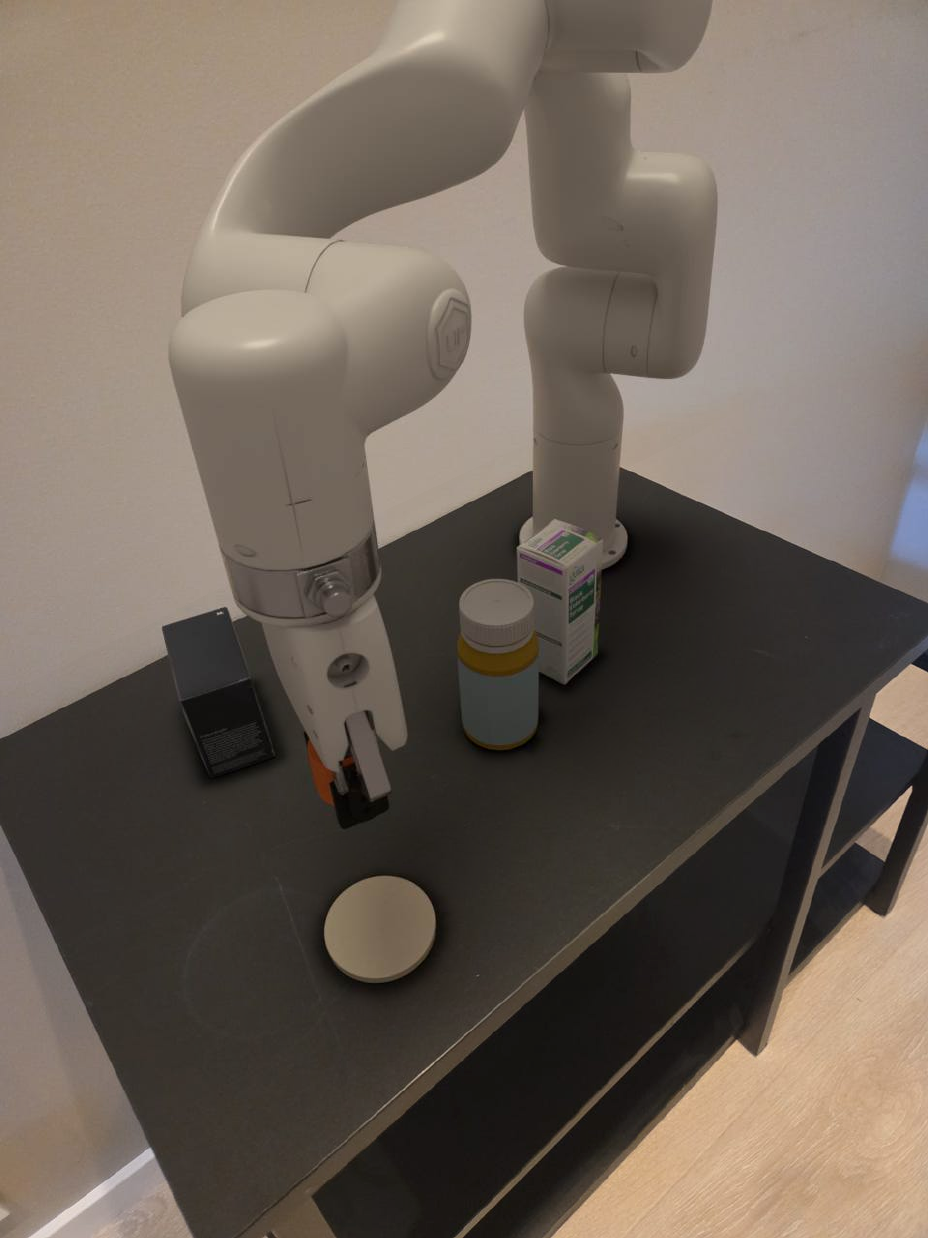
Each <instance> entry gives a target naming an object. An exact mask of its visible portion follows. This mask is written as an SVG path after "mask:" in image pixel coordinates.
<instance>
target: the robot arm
mask: <svg viewBox="0 0 928 1238" xmlns="http://www.w3.org/2000/svg"><path fill="white" fill-rule="evenodd" d="M713 2H714V0H397V1H396V3H395V6H394V8H393V9H392V12H391V14H390V16H389V19H388V20H387V23H386V25H385V27H384V29H383V32H382V34H381V36H380V39H379V41H378V42H377V45H376V47H375V50H374V51H373V53H372V54H371V55H369V56H368V57H367V58H365V59H363V60H362V61H361V62H359V63H357V64H355V65H353V66H351V67H350V68H349V69H347V70H346V71H344V72H343V73H341V74H340V75H338V76H336V77H335V78H334V79H332V80H331V81H330V82H328V83H327V84H325V85H324V86H322V87H321V88H319V90H317V91H316V92H314V93H313V94H312V95H310V96H309V97H307V99H305V100H304V101H302V102H301V103H300V104H298V105H297V106H296V107H295V108H293V109H292V110H290V111H288V113H286V114H284V116H281V118H279V119H278V120H276V121H275V122H273V124H272V125H270V126H269V127H268V128H267V129H266V130H264V131H263V132H262V133H261V134H259V136H258V137H257V138H256V139H255V140H254V141H253V142H252V143H251V144H250V145H249V146H248V147H247V148H246V149H245V150H244V152H242V154H241V155H240V157H239V158H238V159H237V160H236V162H235V163H234V164H233V166H232V167H231V169H230V171H229V172H228V173H227V175H226V177H225V178H224V181H223V182H222V184H221V187H220V189H219V191H218V193H217V195H216V197H215V199H214V200H213V202H212V205H211V206H210V208H209V211H208V213H207V215H206V217H205V219H204V221H203V222H202V225H201V227H200V229H199V232H198V234H197V237H196V240H195V242H194V244H193V246H192V250H191V252H190V254H189V257H188V261H187V265H186V269H185V273H184V277H183V280H182V281H183V282H182V288H181V296H180V297H181V298H180V302H181V303H180V305H181V308H180V310H181V312H180V313H181V314H180V315H181V319H180V320H179V321H178V322H177V323H176V324H175V326H174V327H173V329H172V331H171V334H170V336H169V341H168V353H167V354H168V356H167V359H168V364H169V368H170V373H171V377H172V382H173V385H174V388H175V392H176V396H177V399H178V402H179V406H180V410H181V413H182V417H183V421H184V425H185V428H186V431H187V435H188V439H189V442H190V446H191V449H192V453H193V457H194V460H195V464H196V467H197V471H198V474H199V479H200V482H201V486H202V490H203V492H204V496H205V499H206V504H207V507H208V510H209V514H210V517H211V521H212V525H213V529H214V532H215V535H216V539H217V542H218V548H219V551H220V554H221V558H222V562H223V565H224V570H225V573H226V577H227V581H228V583H229V586H230V587H229V588H230V590H231V593H232V597H233V601H234V603H235V605H236V607H237V608H238V609H239V610H240V612H242V613H243V614H244V615H245V616H247V617H249V618H250V619H252V620H254V621H256V622H259V623H261V626H262V630H263V633H264V637H265V641H266V644H267V647H268V651H269V654H270V657H271V661H272V663H273V666H274V669H275V671H276V673H277V676H278V679H279V681H280V683H281V686H282V687H283V691H284V692H285V694H286V696H287V698H288V700H289V702H290V704H291V706H292V709H293V710H294V712H295V714H296V716H297V718H298V720H299V721H300V724H301V726H302V727H303V730H304V731H303V732H302V733H303V737H304V741H305V746H306V750H307V751H308V741H309V739H310V741H311V742H312V744H313V746H314V748H315V750H316V752H317V754H318V755H319V757H320V759H321V761H322V763H323V764H324V766H325V767H326V768H327V769H329V770H331V771H332V775H333V778H334V780H333V781H332V782H330V783H329V785H330V789H331V794H332V798H333V802H334V806H333V807H334V811H335V815H336V821H337V823H338V825H339V827H340V829H342V830H347V829H350V828H352V827H354V826H357V825H359V824H364V823H367V822H369V821H372V820H374V819H375V818H377V817H378V816H381V815H382V814H384V813H386V812H388V810H389V809H390V802H389V795H390V794H392V793H393V792H392V787H391V784H390V781H389V778H388V775H387V771H386V769H385V766H384V763H383V759H382V755H381V750H380V746H379V741H378V737H379V739H380V740H381V741H382V742H383V743H384V744H385V745H386V746H387V748H389V749H390V751H392V752H394V751H395V750H398V749H400V748H402V747H404V746H405V745H406V743H407V740H408V727H407V722H406V716H405V712H404V706H403V705H404V704H403V701H402V696H401V695H402V694H401V690H400V686H399V681H398V676H397V671H396V665H395V662H394V657H393V653H392V648H391V645H390V641H389V637H388V633H387V630H386V627H385V623H384V620H383V616H382V613H381V610H380V608H379V604H378V601H377V599H376V596H375V593H376V591H377V590H378V587H379V585H380V583H381V581H382V565H381V557H380V551H379V543H378V537H377V536H378V535H377V529H376V521H375V520H376V519H375V513H374V507H373V505H374V504H373V499H372V492H371V483H370V476H369V467H368V462H367V455H366V453H367V452H366V440H367V438H368V437H369V436H370V435H371V434H373V433H374V432H377V431H378V430H381V429H382V428H384V427H385V426H388V425H389V424H391V423H393V422H395V421H397V420H399V419H401V418H403V417H405V416H407V415H409V414H411V413H413V412H415V411H417V410H418V409H420V408H422V407H423V406H425V405H426V404H428V403H429V402H431V401H432V400H434V399H435V398H436V397H437V396H438V395H439V394H440V393H441V392H442V391H444V390H445V388H446V387H447V386H448V385H449V384H450V383H451V382H452V380H453V378H454V377H455V376H456V374H457V373H458V371H459V370H460V368H461V366H462V365H463V364H464V361H465V359H466V356H467V353H468V350H469V346H470V342H471V335H472V319H473V318H472V317H473V316H472V305H471V301H470V296H469V293H468V290H467V288H466V286H465V283H464V281H463V280H462V278H461V276H460V275H459V274H458V272H457V271H456V269H454V267H452V266H451V264H450V263H448V262H447V261H446V260H444V259H443V258H441V257H439V256H438V255H436V254H433V253H431V252H429V251H426V250H423V249H420V248H415V247H411V246H404V245H396V244H386V243H385V244H384V243H373V242H359V241H347V240H343V239H338V238H337V239H334V238H333V237H334V236H335V235H337V234H338V233H339V232H341V231H343V230H345V229H346V228H347V227H349V226H351V225H352V224H354V223H356V222H357V223H358V222H359V221H361V220H363V219H365V218H367V217H369V216H372V215H374V214H377V213H379V212H383V211H385V210H389V209H392V208H395V207H398V206H401V205H404V204H407V203H411V202H414V201H418V200H421V199H424V198H427V197H431V196H434V195H436V194H438V193H441V192H444V191H446V190H450V189H451V188H454V187H456V186H459V185H461V184H464V183H466V182H468V181H470V180H473V179H474V178H477V177H479V176H480V175H482V174H485V172H487V171H488V170H490V169H491V168H492V167H493V166H495V165H496V164H497V163H498V162H499V161H500V160H501V159H502V158H503V156H504V155H505V154H506V152H507V151H508V150H509V147H510V146H511V143H512V141H513V139H514V137H515V134H516V131H517V128H518V126H519V123H520V120H521V117H522V114H523V115H524V121H525V122H524V123H525V132H526V133H525V134H526V147H527V162H528V174H529V189H530V190H529V191H530V204H531V205H530V207H531V218H532V227H533V234H534V239H535V243H536V245H537V248H538V250H539V252H540V254H541V255H542V256H543V257H544V258H545V259H546V260H548V261H549V262H551V263H553V264H556V265H559V266H560V267H555V268H552V269H549V270H547V271H545V272H543V273H541V274H540V275H539V276H537V278H536V279H534V280H533V282H532V284H531V285H530V287H529V288H528V290H527V292H526V295H525V298H524V305H523V328H524V337H525V342H526V347H527V353H528V357H529V365H530V372H531V373H530V374H531V383H532V384H531V385H532V516H531V517H530V518H528V519H527V520H526V521H525V522H524V523H523V524H522V526H521V528H520V531H519V535H518V536H519V537H518V539H519V545H521V544H522V543H523V542H525V541H526V540H527V539H529V538H530V537H531V536H532V535H534V534H535V533H537V532H538V531H540V530H541V529H543V528H544V527H546V526H547V525H549V524H550V522H551V521H553V520H554V519H556V520H559V521H562V522H565V523H568V524H571V525H574V526H577V527H579V528H582V529H584V530H586V531H588V532H590V533H592V534H594V535H597V536H598V537H600V538H602V540H603V549H602V570H605V569H608V568H610V567H611V566H613V565H615V564H616V563H617V562H619V560H620V559H622V558H623V556H624V555H625V553H626V551H627V548H628V538H629V537H628V533H627V530H626V528H625V526H624V525H623V524H622V523H621V521H620V520H618V519H617V505H618V496H619V495H618V493H619V482H620V468H621V454H622V443H623V431H624V430H623V429H624V417H625V413H624V412H625V409H624V401H623V398H622V395H621V392H620V389H619V386H618V384H617V383H616V381H615V380H614V377H613V376H612V375H620V376H627V377H628V376H629V377H637V378H646V379H657V380H674V379H675V380H676V379H679V378H682V377H684V376H687V374H689V373H690V372H691V371H692V370H693V369H694V368H695V367H696V365H697V363H698V361H699V359H700V357H701V355H702V351H703V347H704V343H705V339H706V333H707V325H708V317H709V307H710V296H711V287H712V277H713V267H714V257H715V256H714V255H715V248H716V236H717V225H718V210H719V209H718V208H719V200H718V198H719V197H718V195H719V194H718V186H717V181H716V177H715V174H714V171H713V169H712V167H711V166H710V165H709V164H708V163H707V161H705V160H704V159H702V158H701V157H699V156H696V155H694V154H689V153H683V152H675V151H674V152H672V151H647V150H646V151H645V150H638V149H636V148H635V147H634V146H633V144H632V140H631V139H632V138H631V123H632V122H631V120H632V118H631V115H632V114H631V113H632V111H631V110H632V89H631V84H630V79H629V77H628V74H643V75H644V74H666V73H673V72H675V71H678V70H679V69H681V68H682V67H684V66H685V65H687V63H688V62H689V61H690V60H691V59H692V58H693V56H694V55H695V53H696V52H697V50H698V49H699V47H700V45H701V43H702V41H703V39H704V36H705V33H706V30H707V29H708V25H709V21H710V18H711V12H712V8H713ZM377 736H378V737H377ZM307 753H308V752H307ZM308 755H309V753H308ZM351 756H353V759H354V762H355V766H353V767H351V768H348V769H346V770H344V766H343V763H342V760H344V759H346V758H349V757H351Z"/></svg>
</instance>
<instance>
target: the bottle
mask: <svg viewBox="0 0 928 1238" xmlns="http://www.w3.org/2000/svg"><path fill="white" fill-rule="evenodd" d="M458 610H459V612H458V613H459V624H460V632H459V635H458V639H457V641H456V656H457V668H458V669H457V671H458V681H459V682H458V683H459V684H458V685H459V697H460V710H461V721H462V727H463V731H464V733H465V734H466V736H467V737H468V739H469V740H470V741H472V742H473V743H475V745H478V746H480V747H483V748H485V749H488V750H491V751H492V750H494V751H506V750H507V751H508V750H512V749H514V748H517V747H520V746H522V745H524V744H526V742H527V741H528V742H529V740H530V739H532V737H534V734H535V733H536V731H537V728H538V725H539V689H540V688H539V685H540V684H539V683H540V682H539V681H540V680H539V678H540V677H539V676H540V675H539V674H540V672H539V642H538V638H537V635H536V633H535V631H534V629H533V623H534V600H533V597H532V594H531V593H530V591H529V590H528V589H527V588H526V587H524V586H523V585H521V584H519V583H518V581H515V580H510V579H505V578H490V579H489V578H488V579H484V580H481V581H478V582H476V583H473V584H472V585H470V586H468V587H467V588H466V589H465V590H464V591H463V593H462V594H461V596H460V599H459V603H458Z"/></svg>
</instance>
